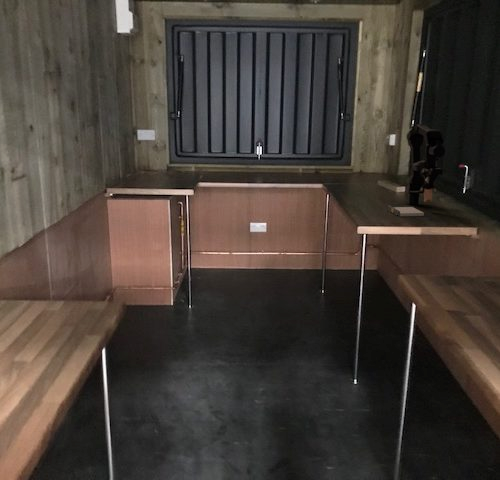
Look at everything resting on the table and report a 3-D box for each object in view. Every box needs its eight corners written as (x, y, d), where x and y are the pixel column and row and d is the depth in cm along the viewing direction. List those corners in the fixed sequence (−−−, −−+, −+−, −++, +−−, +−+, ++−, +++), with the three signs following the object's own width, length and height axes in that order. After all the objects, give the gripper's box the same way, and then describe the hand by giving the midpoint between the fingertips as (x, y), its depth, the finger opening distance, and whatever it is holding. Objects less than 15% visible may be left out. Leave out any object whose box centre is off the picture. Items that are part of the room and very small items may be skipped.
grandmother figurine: (433, 200, 260) (435, 175, 257) (436, 201, 257) (438, 176, 254) (418, 200, 260) (420, 176, 257) (421, 201, 256) (422, 176, 253)
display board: (387, 210, 263) (387, 205, 263) (412, 209, 264) (412, 205, 264) (397, 216, 249) (397, 211, 248) (423, 215, 250) (424, 210, 249)
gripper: (408, 154, 261) (406, 184, 265) (422, 157, 243) (420, 190, 247) (429, 153, 262) (426, 183, 266) (445, 157, 244) (442, 189, 248)
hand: (428, 186), depth 256 cm, fingers closed on grandmother figurine, 3 cm apart
